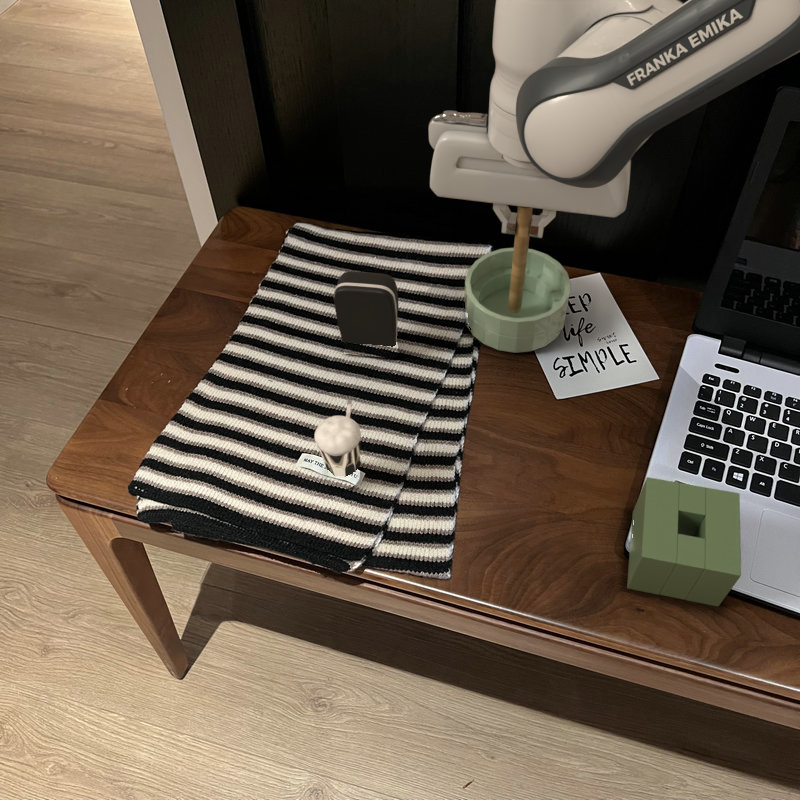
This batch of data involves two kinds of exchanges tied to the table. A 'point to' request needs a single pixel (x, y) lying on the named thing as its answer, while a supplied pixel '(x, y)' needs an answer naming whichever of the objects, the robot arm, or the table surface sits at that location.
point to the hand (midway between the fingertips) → (522, 232)
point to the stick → (519, 258)
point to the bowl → (539, 301)
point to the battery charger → (367, 308)
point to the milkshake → (339, 443)
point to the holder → (685, 542)
